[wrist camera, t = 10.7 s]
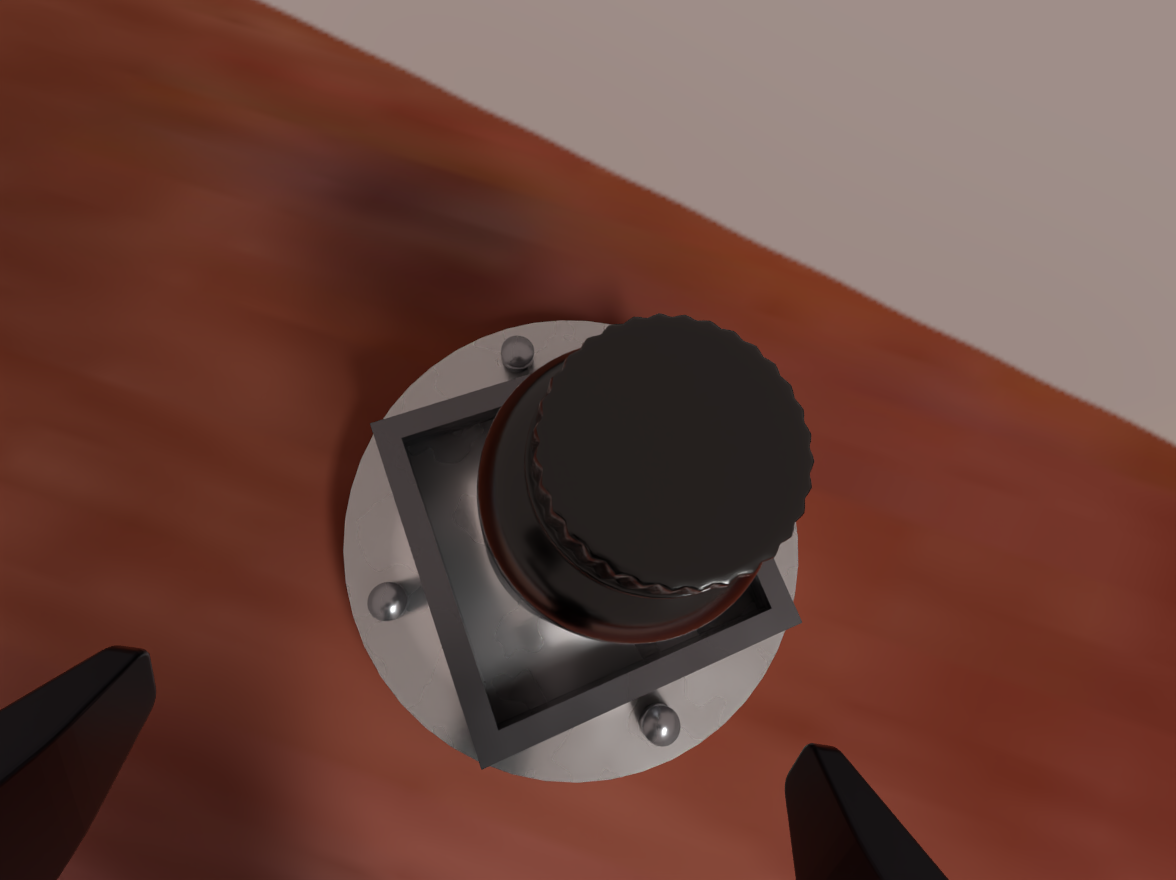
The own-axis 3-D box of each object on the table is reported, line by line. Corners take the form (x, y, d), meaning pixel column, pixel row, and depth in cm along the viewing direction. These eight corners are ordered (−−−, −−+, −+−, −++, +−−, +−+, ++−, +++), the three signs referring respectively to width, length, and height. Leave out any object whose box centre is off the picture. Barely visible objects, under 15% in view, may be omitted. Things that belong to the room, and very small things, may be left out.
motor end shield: (435, 858, 19) (426, 896, 17) (300, 405, 23) (275, 379, 20) (848, 657, 23) (892, 663, 21) (682, 293, 26) (702, 258, 24)
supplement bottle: (463, 457, 21) (429, 283, 10) (645, 417, 23) (797, 226, 11) (507, 656, 20) (527, 719, 9) (699, 600, 21) (937, 590, 10)
